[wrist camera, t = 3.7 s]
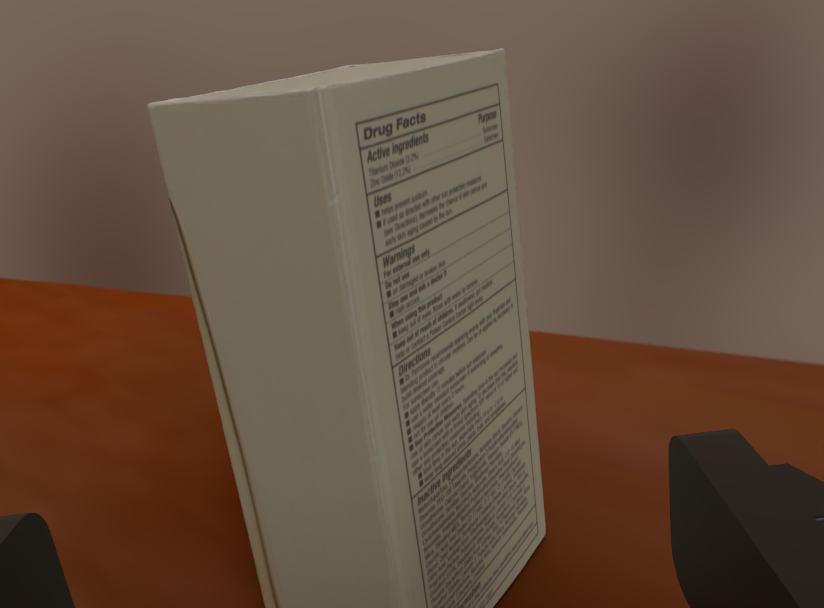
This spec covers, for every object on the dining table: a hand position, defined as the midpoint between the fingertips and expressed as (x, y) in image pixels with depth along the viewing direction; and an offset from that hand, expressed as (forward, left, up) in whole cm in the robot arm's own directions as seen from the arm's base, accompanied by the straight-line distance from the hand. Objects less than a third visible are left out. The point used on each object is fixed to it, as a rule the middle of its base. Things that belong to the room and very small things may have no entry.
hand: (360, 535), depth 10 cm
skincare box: (0, -7, -7) cm, 10 cm away
